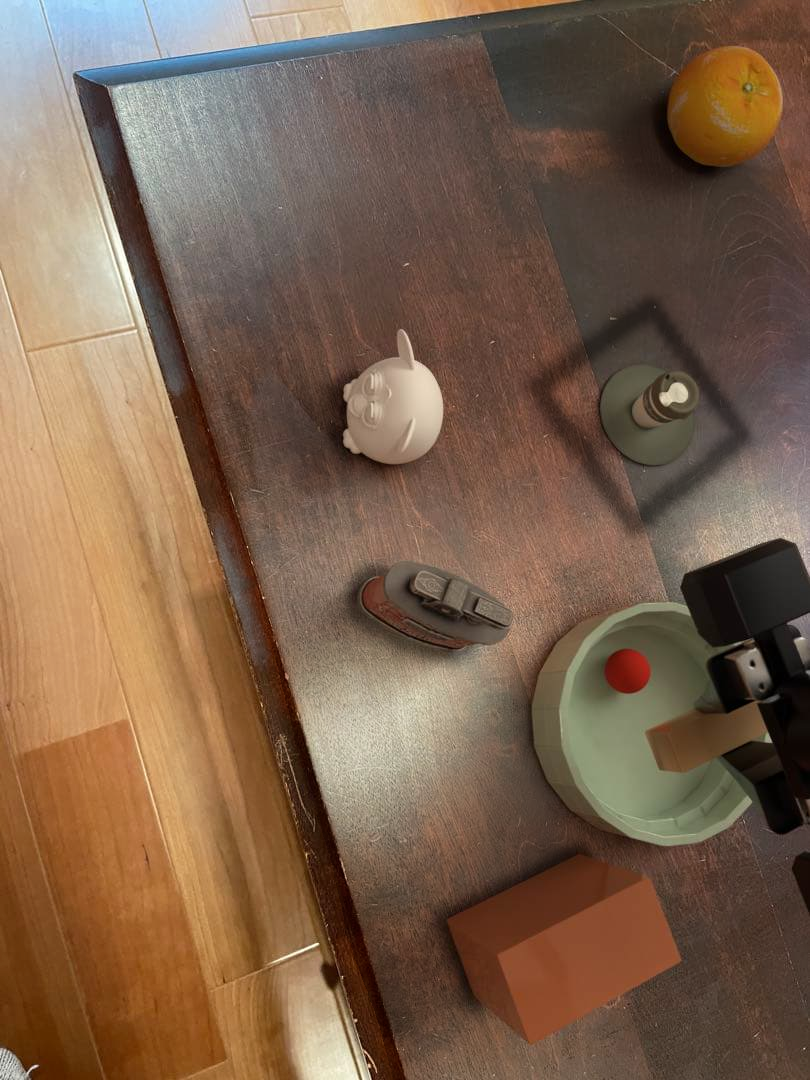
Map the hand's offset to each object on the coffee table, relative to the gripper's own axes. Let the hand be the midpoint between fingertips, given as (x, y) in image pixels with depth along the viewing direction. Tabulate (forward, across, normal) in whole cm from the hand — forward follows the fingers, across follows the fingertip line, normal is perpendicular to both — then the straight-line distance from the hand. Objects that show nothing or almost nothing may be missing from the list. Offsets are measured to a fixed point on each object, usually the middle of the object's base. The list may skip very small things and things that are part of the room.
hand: (709, 725), depth 55 cm
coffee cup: (+10, +20, -10) cm, 25 cm away
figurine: (+10, +25, +9) cm, 28 cm away
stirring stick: (0, 0, 0) cm, 0 cm away
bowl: (+10, 0, 0) cm, 10 cm away
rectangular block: (+10, -9, +12) cm, 18 cm away
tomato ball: (+8, +4, 0) cm, 8 cm away
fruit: (+10, +40, -25) cm, 48 cm away
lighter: (+10, +12, +12) cm, 20 cm away
